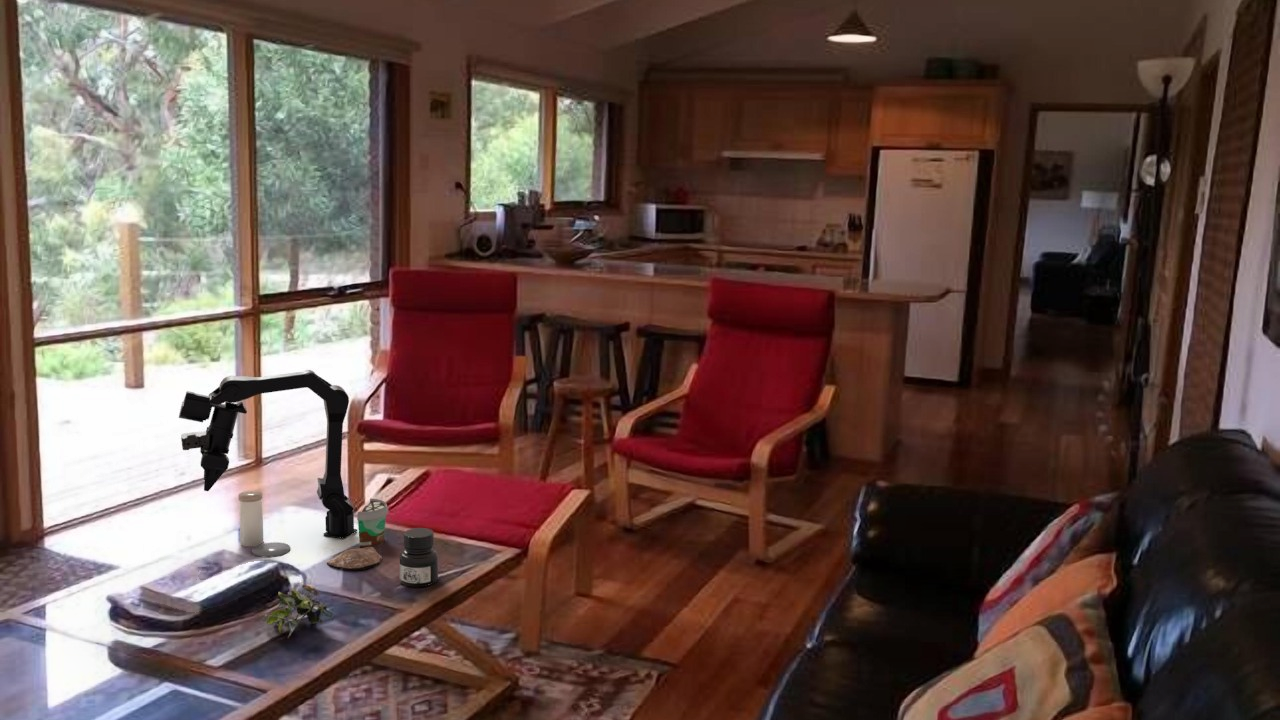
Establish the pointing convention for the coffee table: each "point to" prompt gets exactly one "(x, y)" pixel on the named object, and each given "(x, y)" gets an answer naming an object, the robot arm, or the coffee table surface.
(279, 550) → the coaster
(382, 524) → the food container
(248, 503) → the tumbler
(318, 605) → the green leafy plant
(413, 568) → the ink bottle
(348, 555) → the shell
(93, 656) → the coffee table surface
